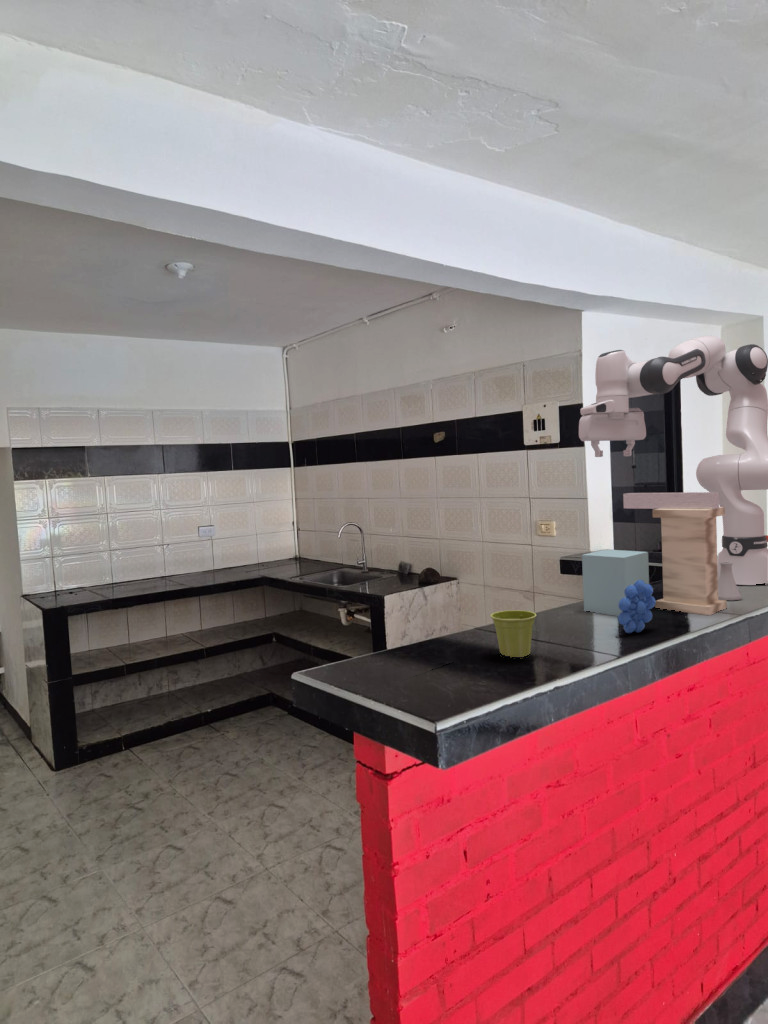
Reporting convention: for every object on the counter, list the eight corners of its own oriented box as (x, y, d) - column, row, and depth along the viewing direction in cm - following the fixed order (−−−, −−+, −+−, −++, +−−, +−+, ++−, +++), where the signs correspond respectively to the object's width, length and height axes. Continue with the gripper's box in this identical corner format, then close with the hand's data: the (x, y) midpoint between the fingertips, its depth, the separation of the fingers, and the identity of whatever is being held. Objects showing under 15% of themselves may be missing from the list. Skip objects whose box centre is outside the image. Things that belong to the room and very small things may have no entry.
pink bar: (630, 507, 189) (629, 493, 189) (719, 508, 171) (718, 492, 171) (623, 508, 187) (623, 493, 187) (712, 509, 169) (712, 493, 169)
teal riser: (608, 603, 188) (606, 549, 187) (649, 608, 179) (648, 552, 178) (583, 611, 181) (581, 554, 180) (625, 617, 171) (623, 557, 170)
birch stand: (673, 602, 186) (671, 506, 184) (726, 608, 175) (724, 507, 173) (655, 608, 179) (652, 509, 177) (709, 615, 169) (706, 510, 167)
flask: (747, 600, 183) (746, 563, 182) (719, 602, 183) (718, 565, 182) (733, 595, 190) (733, 560, 190) (707, 596, 190) (706, 561, 190)
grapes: (639, 625, 163) (637, 575, 162) (663, 630, 157) (662, 578, 156) (605, 633, 157) (603, 581, 156) (629, 638, 151) (627, 585, 150)
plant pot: (484, 653, 145) (482, 613, 145) (521, 647, 149) (520, 607, 148) (507, 664, 137) (505, 621, 136) (547, 657, 140) (545, 615, 140)
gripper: (636, 409, 201) (637, 456, 201) (575, 409, 195) (576, 457, 195) (650, 406, 195) (651, 455, 195) (587, 406, 189) (588, 456, 189)
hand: (613, 456), depth 195 cm, fingers open, 8 cm apart
